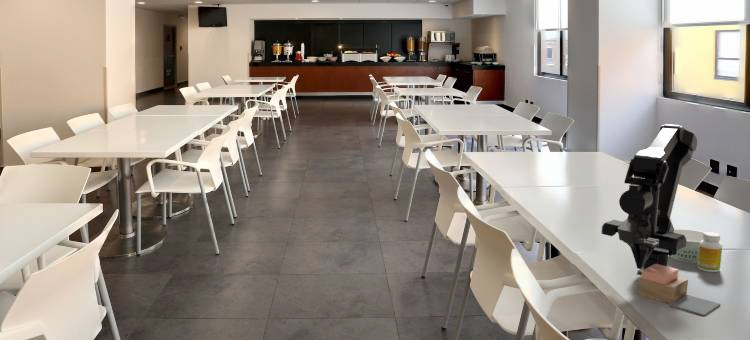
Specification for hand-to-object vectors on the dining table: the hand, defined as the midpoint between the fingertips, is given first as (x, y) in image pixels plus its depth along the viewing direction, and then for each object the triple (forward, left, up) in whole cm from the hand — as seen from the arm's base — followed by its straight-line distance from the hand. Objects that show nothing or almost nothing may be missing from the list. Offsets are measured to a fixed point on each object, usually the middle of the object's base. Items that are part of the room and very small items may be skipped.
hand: (639, 268), depth 159 cm
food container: (-33, -2, -5) cm, 34 cm away
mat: (+1, +14, -5) cm, 15 cm away
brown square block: (0, +6, -5) cm, 8 cm away
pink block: (0, +5, -1) cm, 5 cm away
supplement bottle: (-27, +6, -5) cm, 28 cm away
